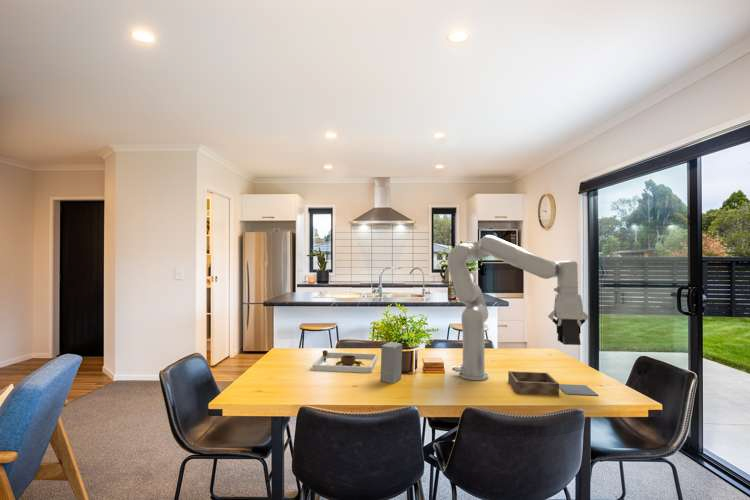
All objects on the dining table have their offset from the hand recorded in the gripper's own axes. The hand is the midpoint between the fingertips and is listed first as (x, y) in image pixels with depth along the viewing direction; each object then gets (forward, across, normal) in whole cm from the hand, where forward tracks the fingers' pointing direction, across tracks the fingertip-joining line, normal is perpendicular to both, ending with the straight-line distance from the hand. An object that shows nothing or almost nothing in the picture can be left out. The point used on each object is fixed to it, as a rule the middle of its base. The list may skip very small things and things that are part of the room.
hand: (568, 335), depth 161 cm
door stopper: (+3, 0, 0) cm, 3 cm away
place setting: (+21, -98, +25) cm, 104 cm away
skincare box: (+21, -72, +2) cm, 75 cm away
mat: (+22, +3, 0) cm, 22 cm away
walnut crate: (+22, -14, 0) cm, 26 cm away
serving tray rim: (+21, -97, +24) cm, 102 cm away
